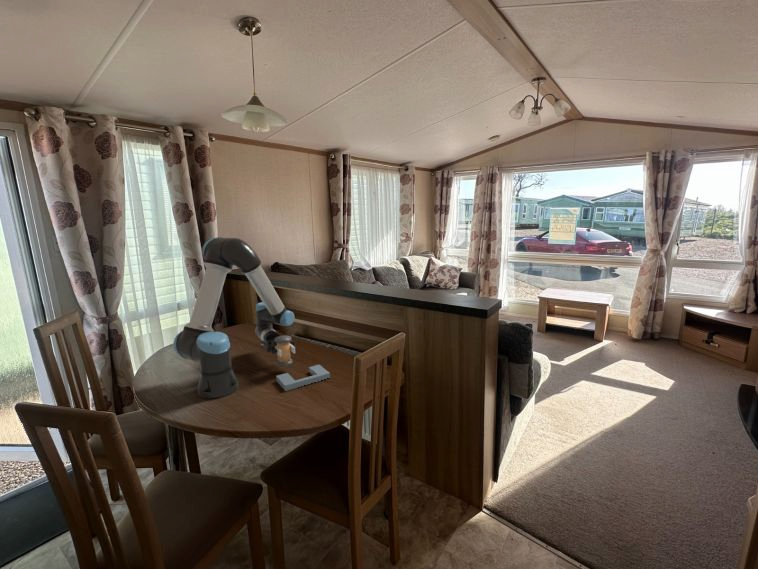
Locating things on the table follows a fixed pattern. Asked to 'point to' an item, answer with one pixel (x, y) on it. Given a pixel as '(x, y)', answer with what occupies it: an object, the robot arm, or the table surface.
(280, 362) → the bobbin
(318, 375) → the notched board
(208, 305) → the robot arm
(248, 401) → the table surface
